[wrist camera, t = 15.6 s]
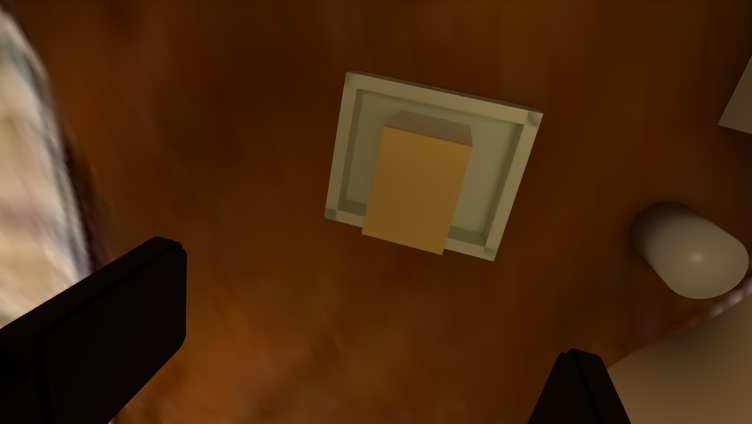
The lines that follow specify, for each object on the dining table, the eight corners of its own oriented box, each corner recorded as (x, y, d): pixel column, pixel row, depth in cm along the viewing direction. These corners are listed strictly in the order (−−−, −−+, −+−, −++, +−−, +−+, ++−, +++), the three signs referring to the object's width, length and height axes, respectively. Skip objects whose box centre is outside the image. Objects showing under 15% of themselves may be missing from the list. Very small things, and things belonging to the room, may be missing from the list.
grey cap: (619, 249, 28) (650, 287, 24) (645, 195, 27) (683, 224, 22) (681, 265, 28) (724, 306, 23) (711, 210, 26) (764, 243, 22)
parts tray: (335, 204, 31) (323, 217, 28) (357, 70, 27) (346, 71, 25) (491, 243, 30) (493, 261, 27) (535, 107, 26) (543, 113, 24)
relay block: (384, 195, 29) (361, 233, 23) (402, 109, 27) (383, 126, 21) (446, 210, 29) (441, 255, 22) (470, 125, 27) (472, 147, 20)
